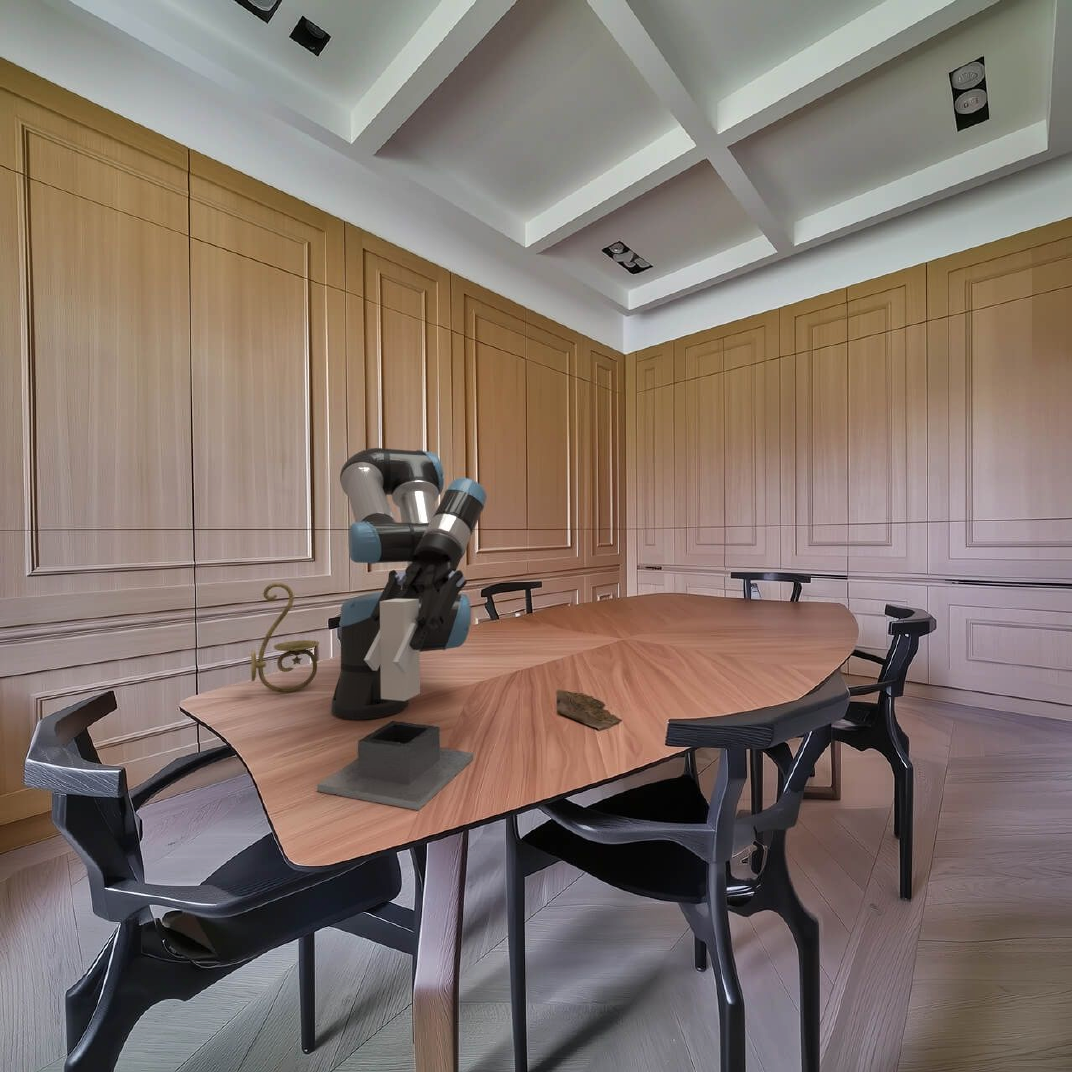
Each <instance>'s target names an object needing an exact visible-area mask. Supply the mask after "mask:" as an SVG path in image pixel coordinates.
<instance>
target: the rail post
mask: <svg viewBox="0 0 1072 1072" xmlns="http://www.w3.org/2000/svg"><path fill="white" fill-rule="evenodd" d="M418 616H419V599H391V600H385V601H380V661H381V664H380V667H381V699H388V700H399V701H406V700H408V699H411V698H414V697H415V696H417V695H419V694H421V682H420V681H421V676H420V675H421V673H420V669H421V667H420V666H421V665H420V658H421V657H420V652H419V650H416V651H415V653H414V655H413V657H412V660H411V662H410V664H409V666H408V669H407V671H406V673H401V672H400V670H399V669H398V668H397V666H396V665H395V664H394V663H393V661H394V658H395V656H396V654H397V652H398V650H399V648H400V646H401V644H402V641H403V639H404V637H405V635H406V633H407V631H408V629H409V627H410V625H411V623H416V625H418V623H417V621H416V619H417V617H418ZM415 618H416V619H415ZM417 620H418V619H417Z"/></svg>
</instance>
